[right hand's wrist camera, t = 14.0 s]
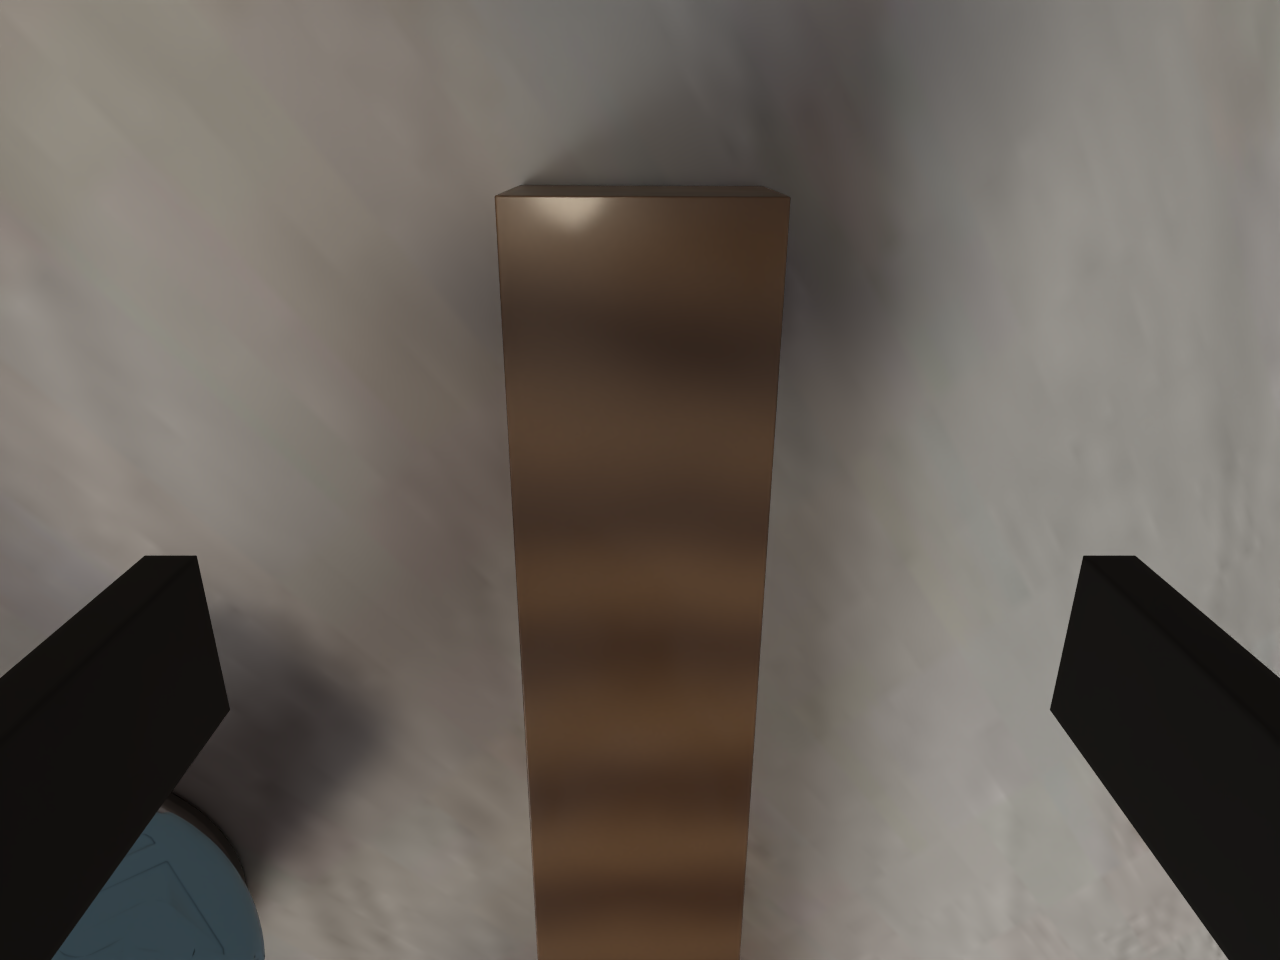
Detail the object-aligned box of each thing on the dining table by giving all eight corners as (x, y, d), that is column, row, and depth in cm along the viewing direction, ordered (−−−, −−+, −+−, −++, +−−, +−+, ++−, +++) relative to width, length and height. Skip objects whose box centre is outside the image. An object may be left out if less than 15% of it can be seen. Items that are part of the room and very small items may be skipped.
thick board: (519, 185, 35) (494, 195, 29) (764, 186, 35) (790, 196, 29) (558, 1035, 54) (548, 1148, 48) (717, 1035, 54) (727, 1148, 48)
